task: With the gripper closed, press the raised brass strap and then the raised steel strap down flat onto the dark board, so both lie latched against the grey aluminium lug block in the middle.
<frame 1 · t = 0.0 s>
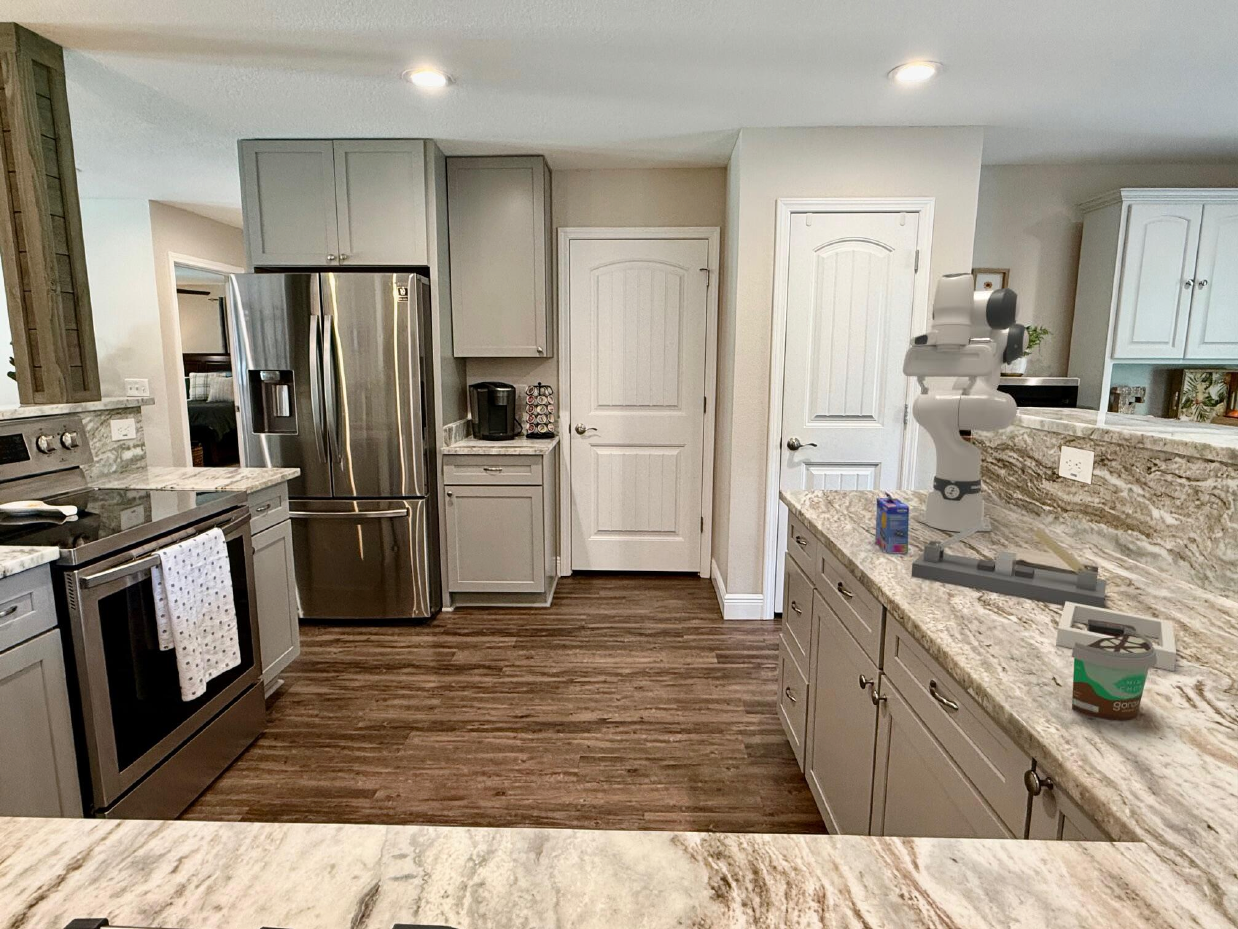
hand: (944, 395, 158), 39 cm above the countertop, tool pointing down, fingers open, 8 cm apart
lug board: (1003, 584, 135), on the countertop
food container: (1116, 713, 86), on the countertop
washcloth: (1041, 569, 146), on the countertop
steel strap: (956, 538, 139), point 9 cm above the countertop, hinge at 40.0°
ink cartridge box: (890, 549, 161), on the countertop
white square frame: (1113, 641, 107), on the countertop
brass strap: (1063, 554, 127), point 9 cm above the countertop, hinge at 40.0°
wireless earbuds: (1114, 643, 108), resting in white square frame
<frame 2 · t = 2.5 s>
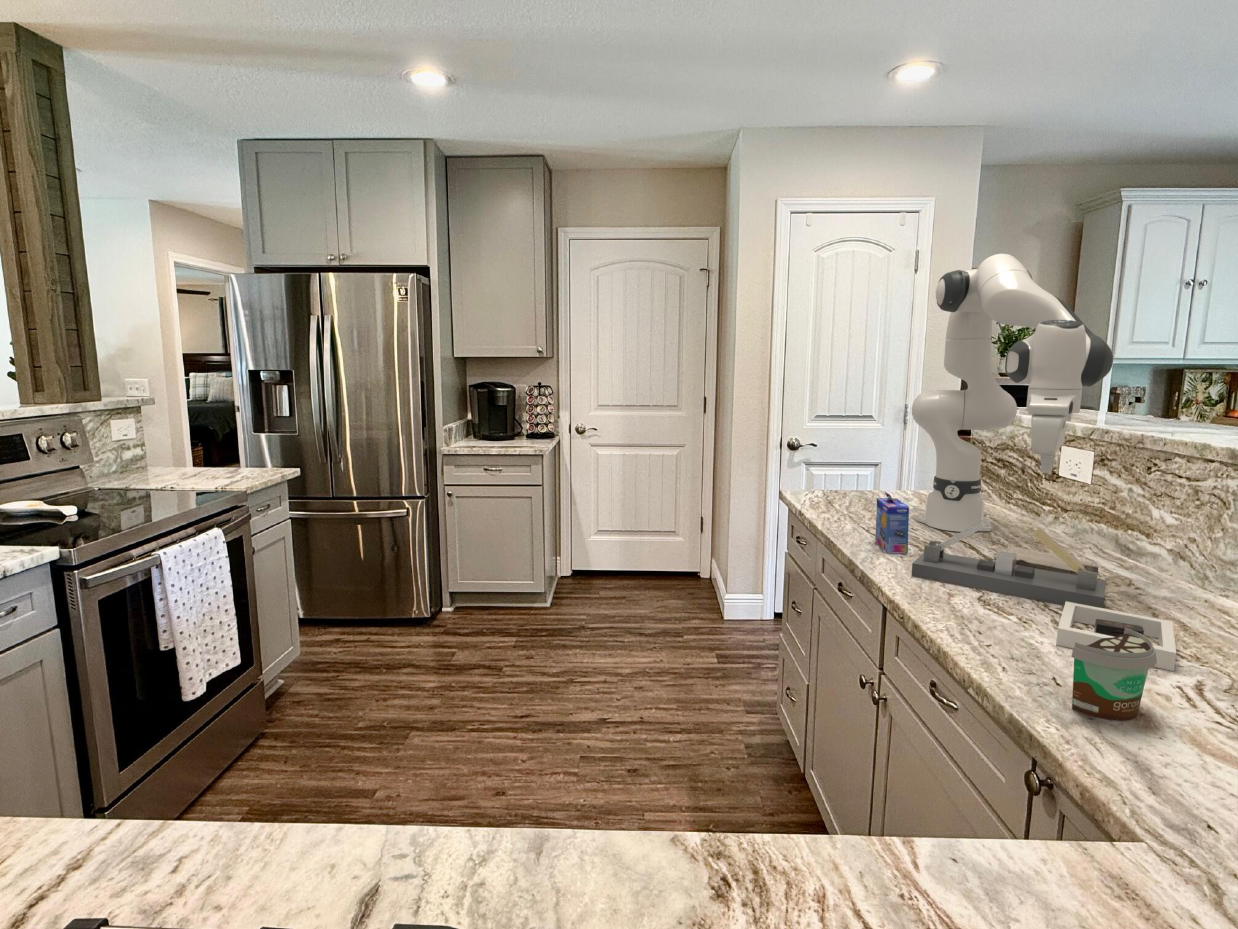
hand: (1046, 471, 127), 25 cm above the countertop, tool pointing down, fingers closed
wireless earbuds: (1121, 643, 108), resting in white square frame
everything else where it was.
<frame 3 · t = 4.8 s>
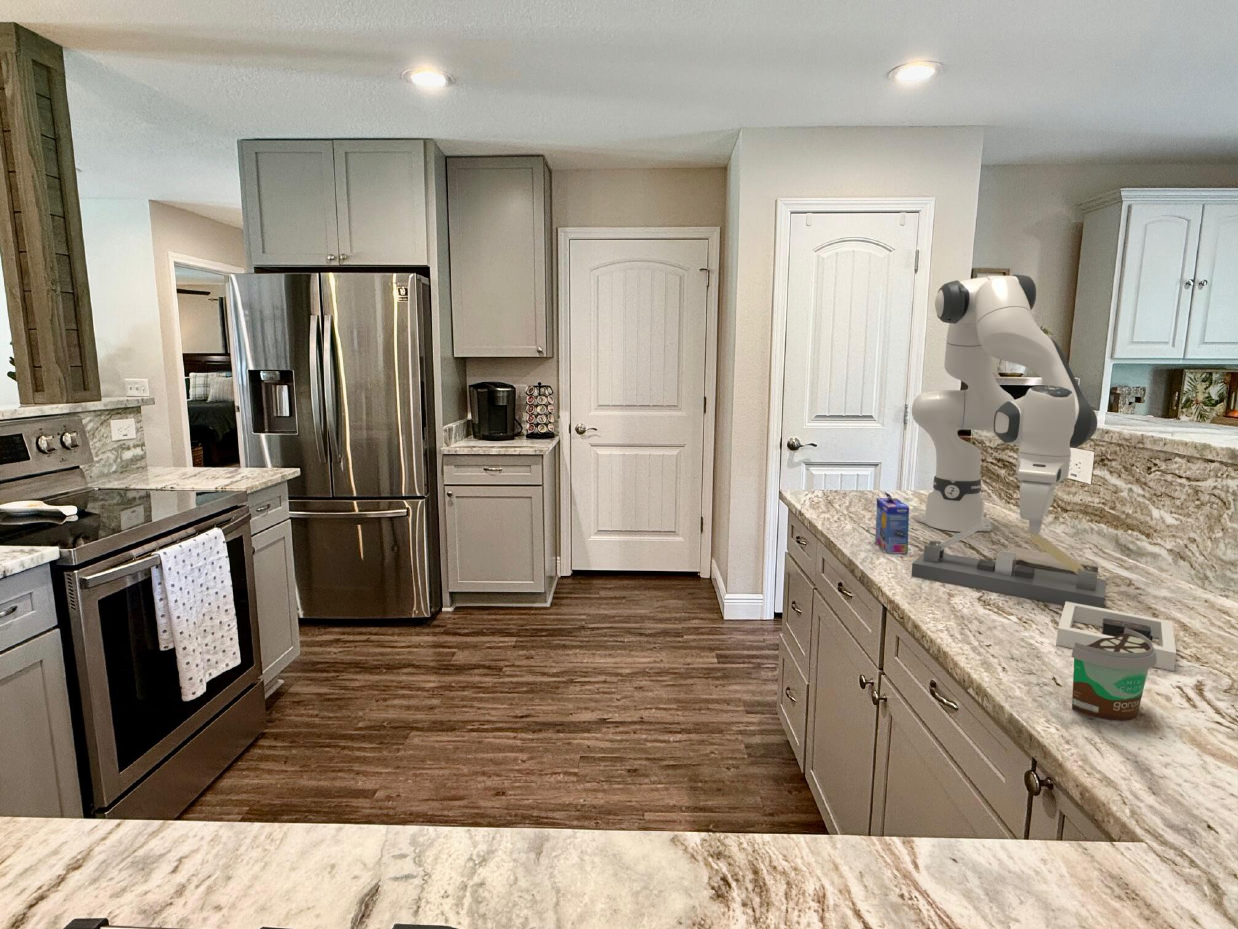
hand: (1034, 533, 130), 12 cm above the countertop, tool pointing down, fingers closed, pressing on brass strap
brass strap: (1061, 556, 127), point 8 cm above the countertop, hinge at 34.2°, touching gripper
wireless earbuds: (1129, 643, 108), resting in white square frame
everything else where it was.
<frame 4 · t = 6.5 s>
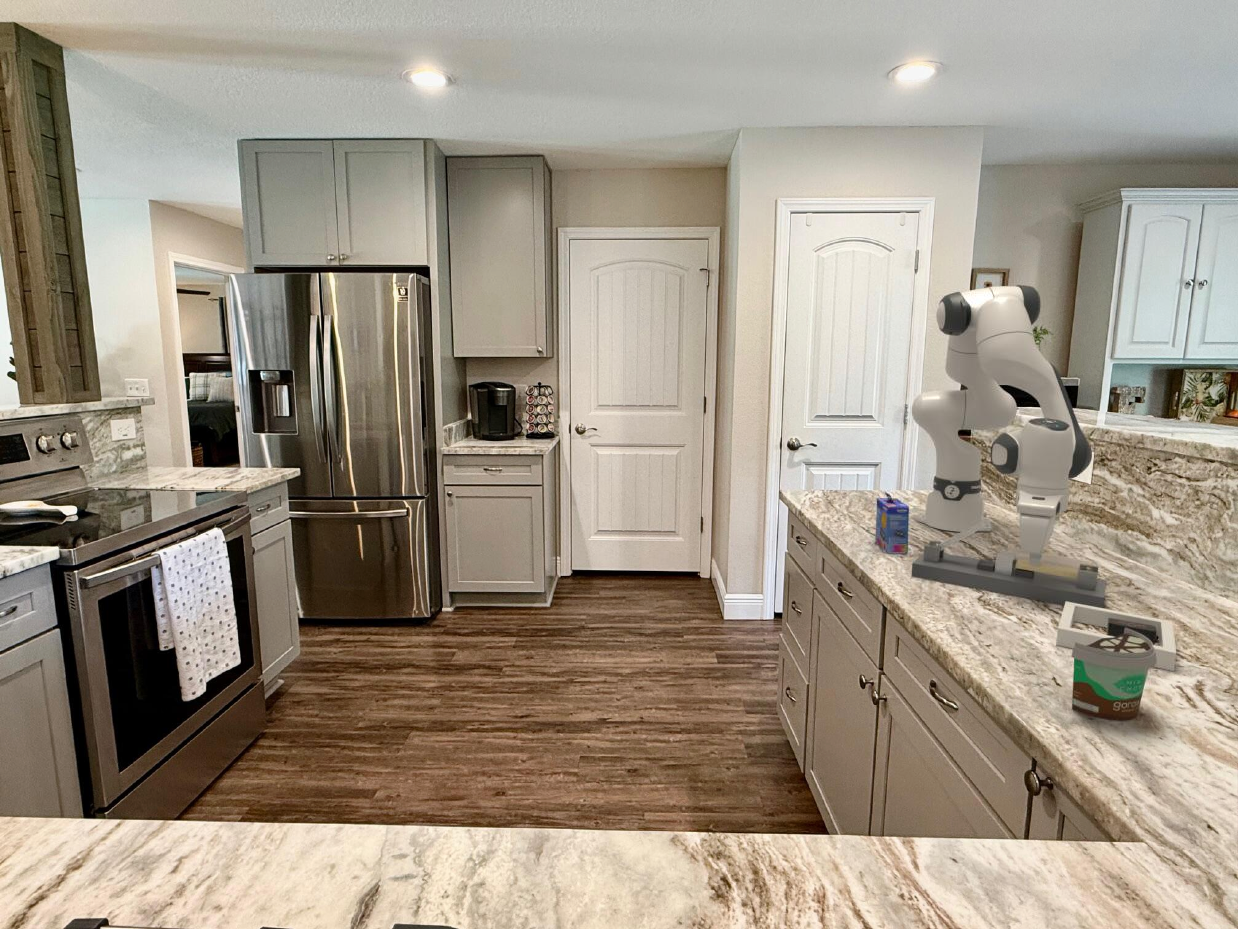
hand: (1035, 564, 130), 6 cm above the countertop, tool pointing down, fingers closed, pressing on brass strap
brass strap: (1053, 569, 129), point 5 cm above the countertop, hinge at 0.8°, touching gripper
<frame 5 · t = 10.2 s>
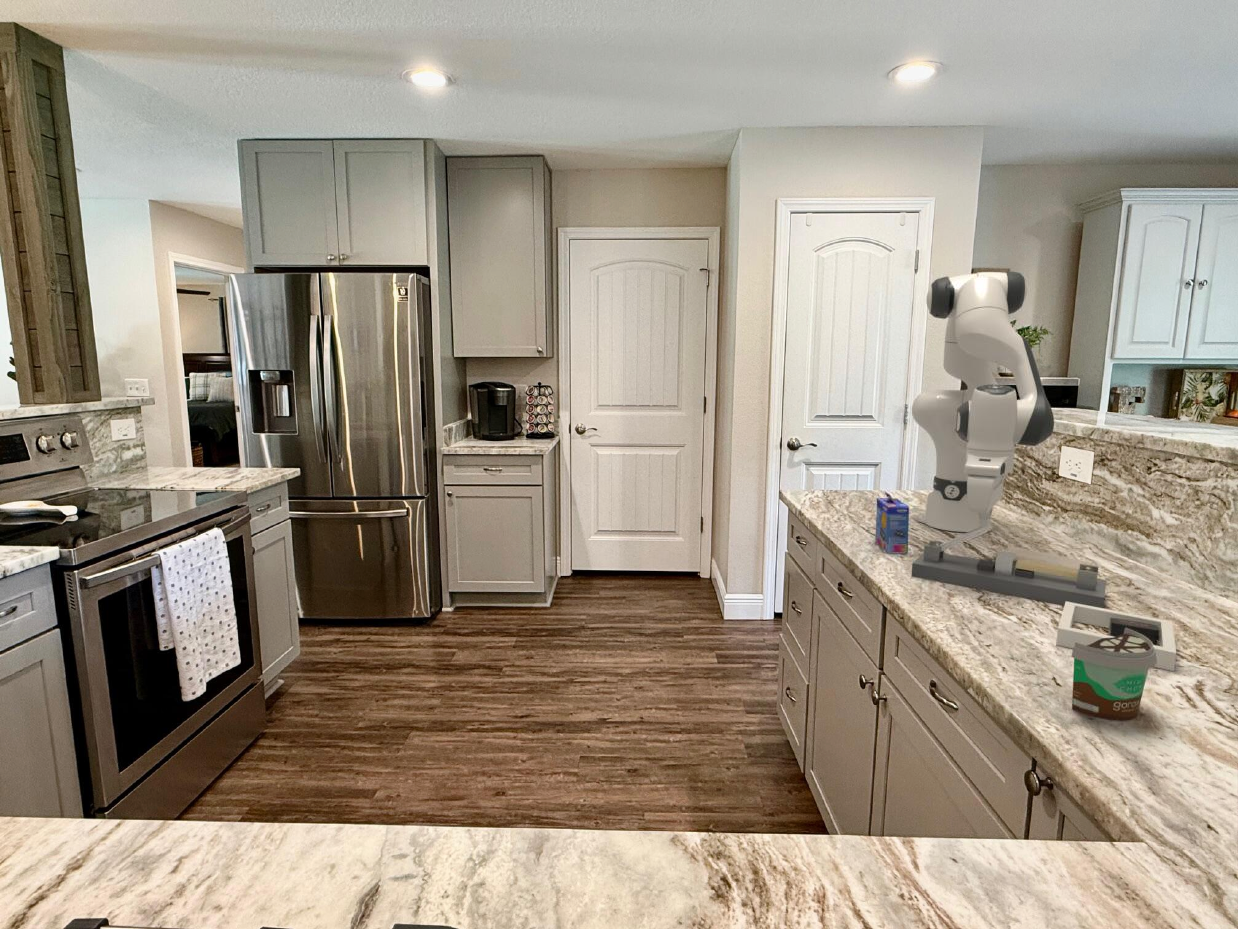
hand: (984, 526, 135), 12 cm above the countertop, tool pointing down, fingers closed, pressing on steel strap
steel strap: (957, 540, 139), point 8 cm above the countertop, hinge at 34.5°, touching gripper
brass strap: (1053, 569, 129), point 5 cm above the countertop, hinge at 0.7°
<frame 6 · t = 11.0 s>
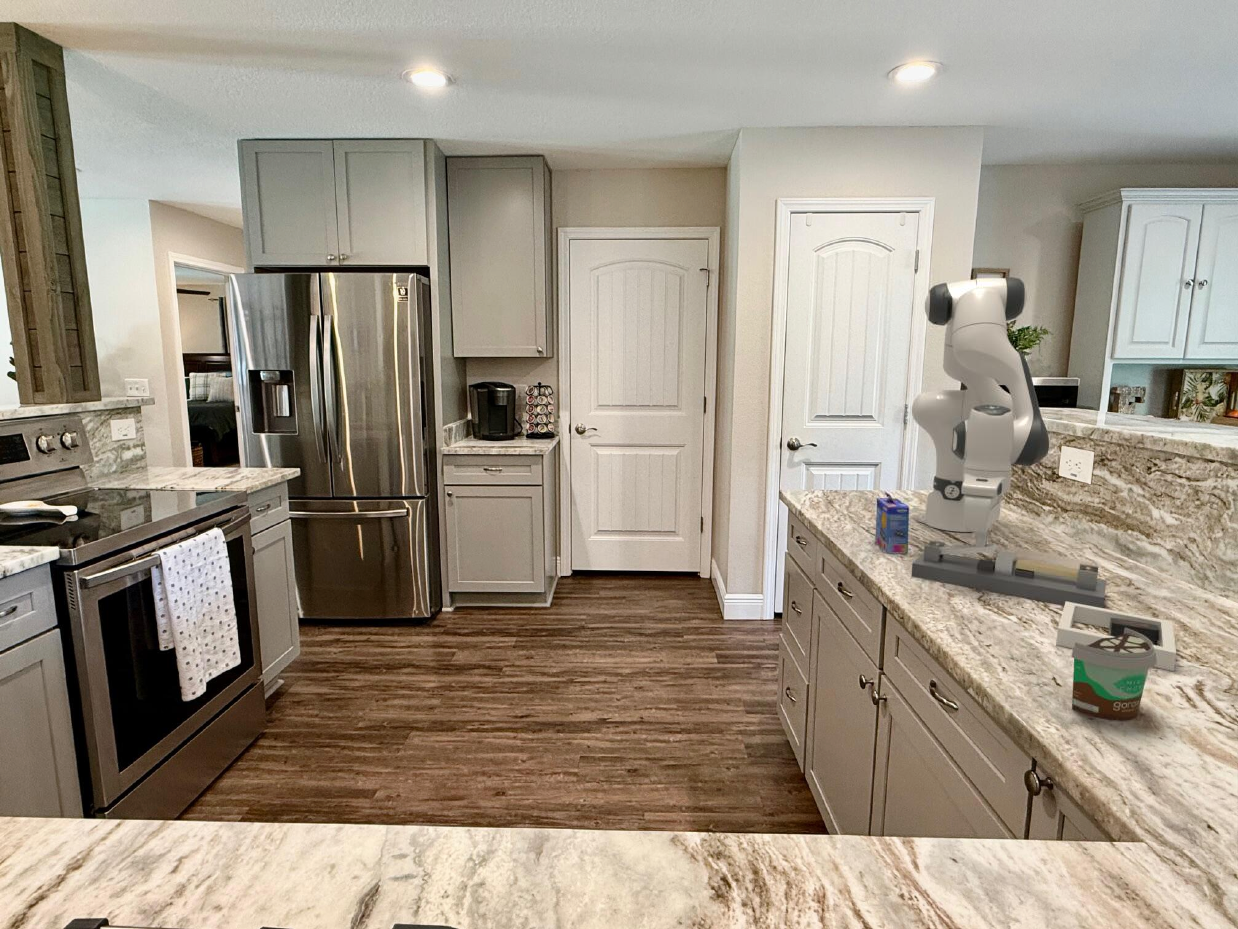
hand: (981, 545, 136), 8 cm above the countertop, tool pointing down, fingers closed, pressing on steel strap
steel strap: (961, 549, 139), point 6 cm above the countertop, hinge at 13.7°, touching gripper
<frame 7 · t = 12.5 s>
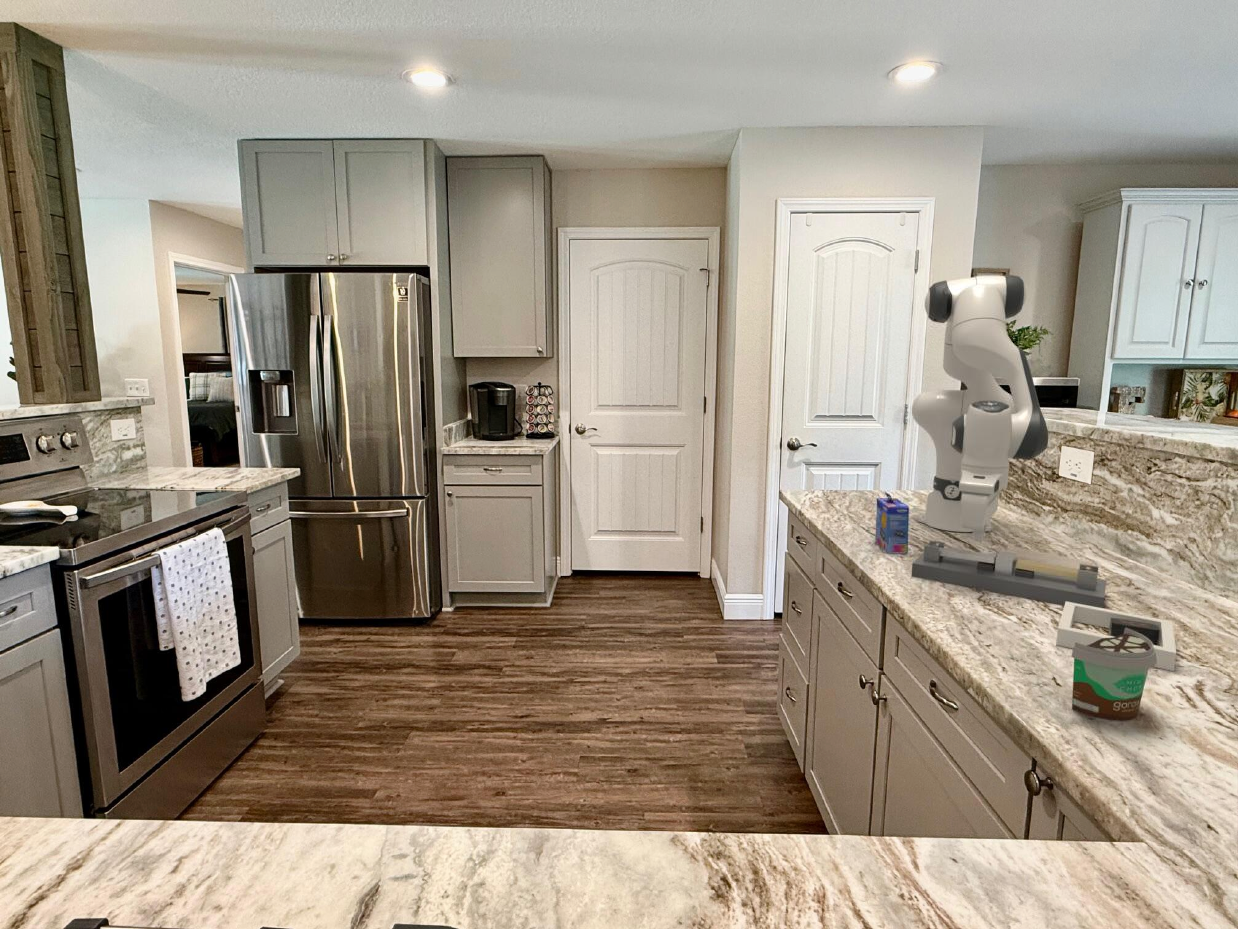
hand: (978, 540, 137), 9 cm above the countertop, tool pointing down, fingers closed
steel strap: (961, 554, 139), point 5 cm above the countertop, hinge at 1.7°
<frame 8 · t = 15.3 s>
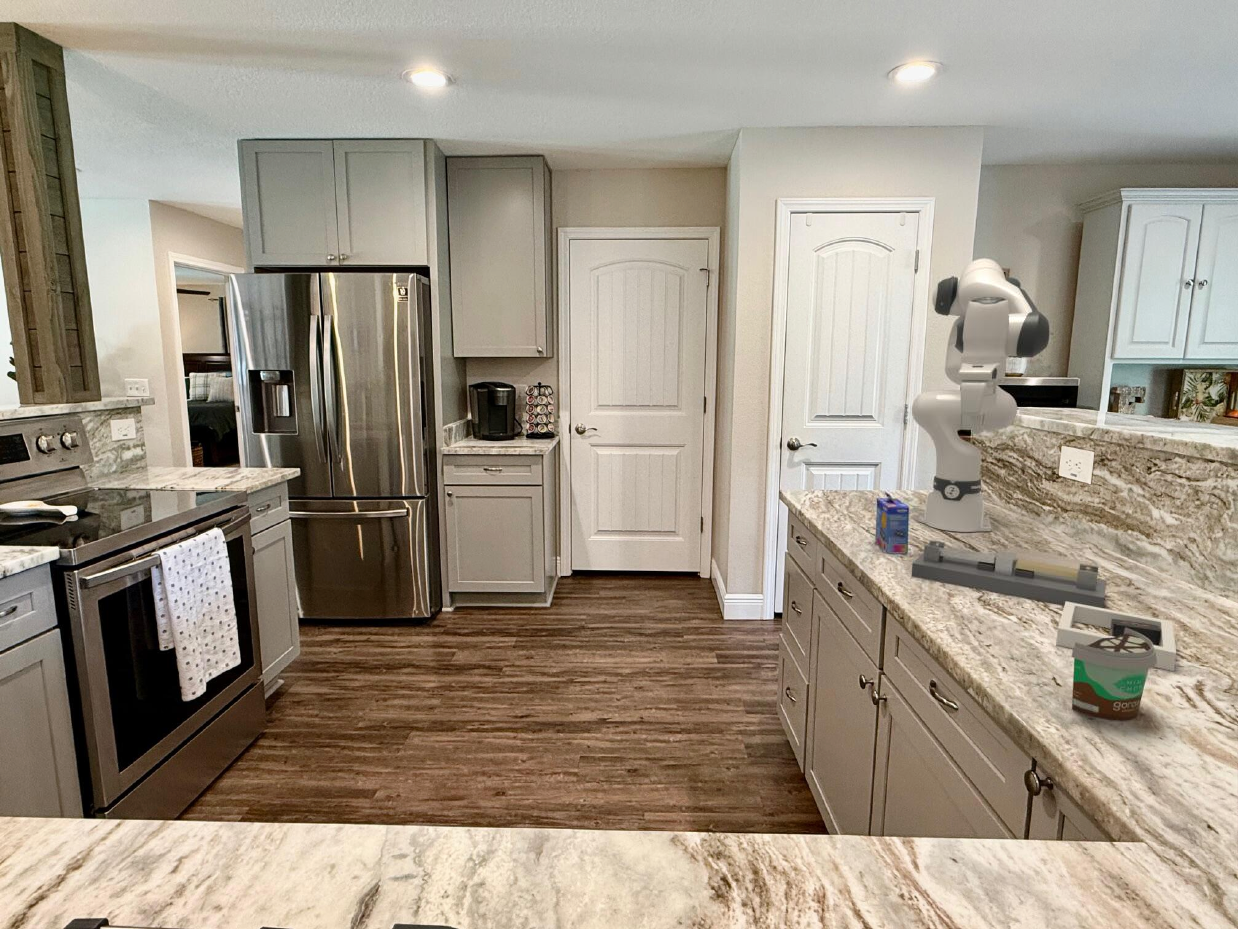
hand: (977, 433, 143), 31 cm above the countertop, tool pointing down, fingers closed
at the end: brass strap at +1° (first picture: +40°); steel strap at +2° (first picture: +40°) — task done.
